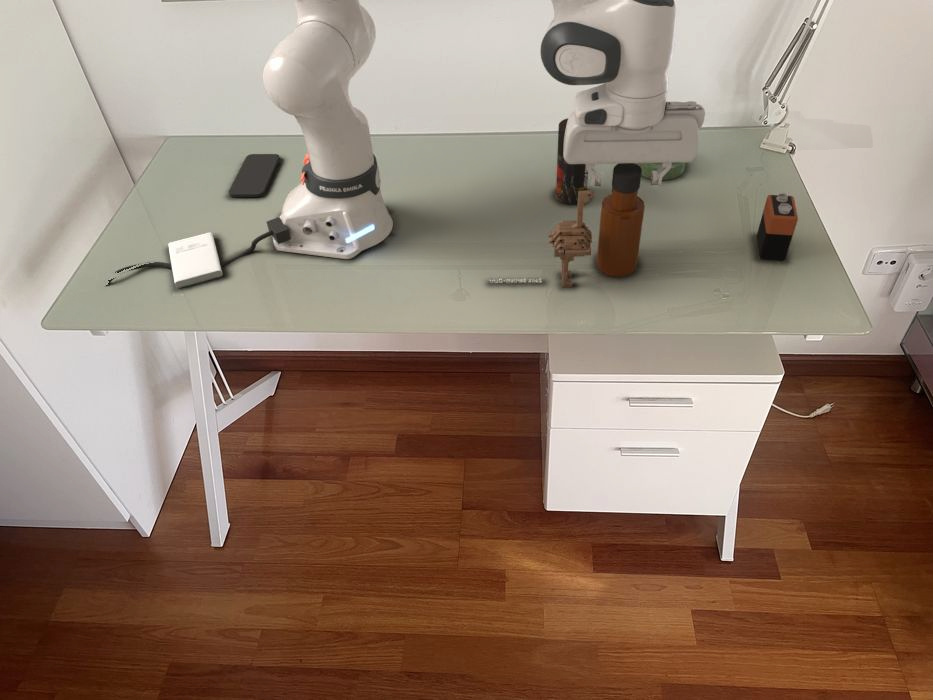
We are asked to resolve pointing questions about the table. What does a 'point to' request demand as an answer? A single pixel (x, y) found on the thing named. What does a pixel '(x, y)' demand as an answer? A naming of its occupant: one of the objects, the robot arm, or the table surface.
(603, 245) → the bottle
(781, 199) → the battery
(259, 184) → the phone
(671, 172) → the decorative artifact
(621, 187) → the bung
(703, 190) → the table surface
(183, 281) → the white power adapter
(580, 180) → the deodorant
